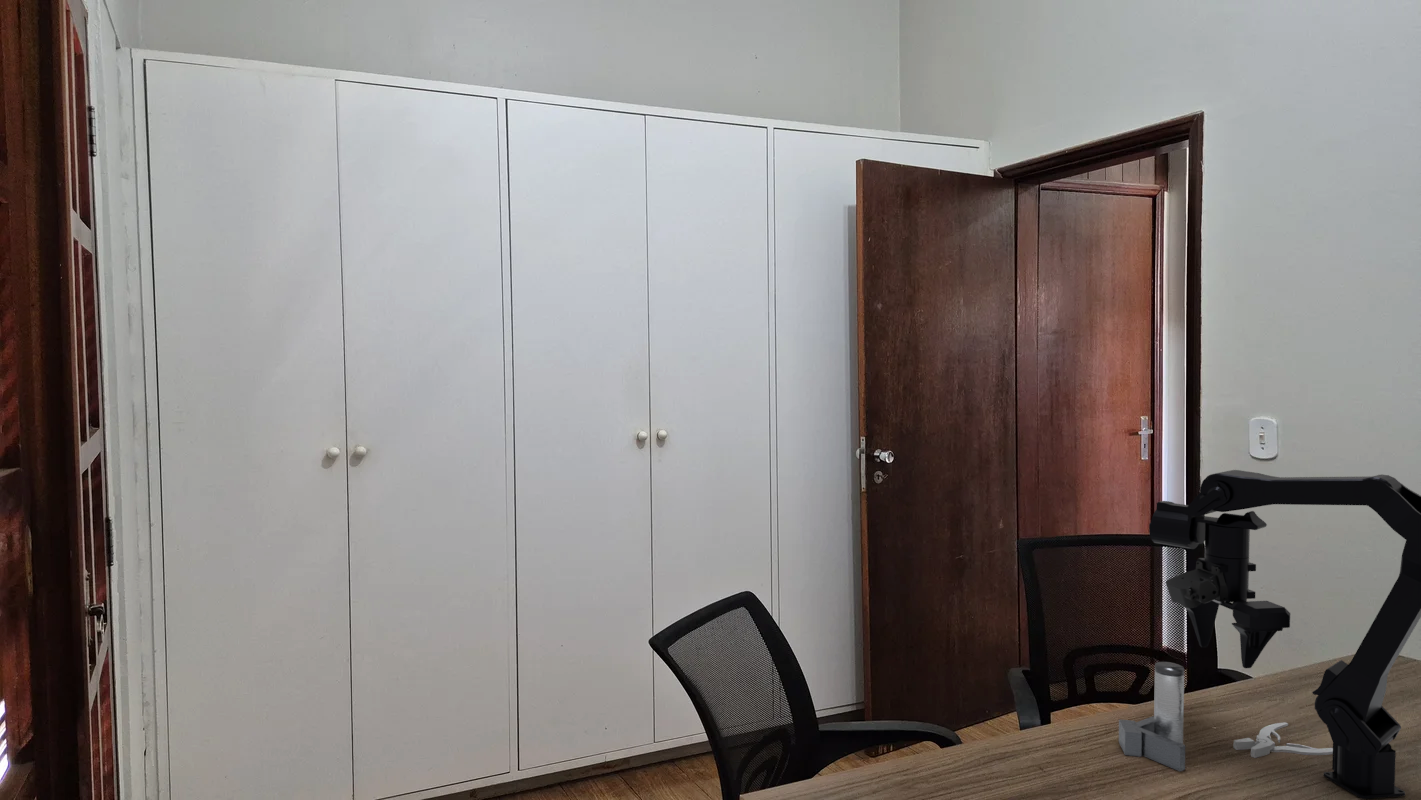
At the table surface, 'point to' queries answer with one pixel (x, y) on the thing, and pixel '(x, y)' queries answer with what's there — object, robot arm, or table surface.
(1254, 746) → the pliers
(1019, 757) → the table surface
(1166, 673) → the axle
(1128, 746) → the v block
